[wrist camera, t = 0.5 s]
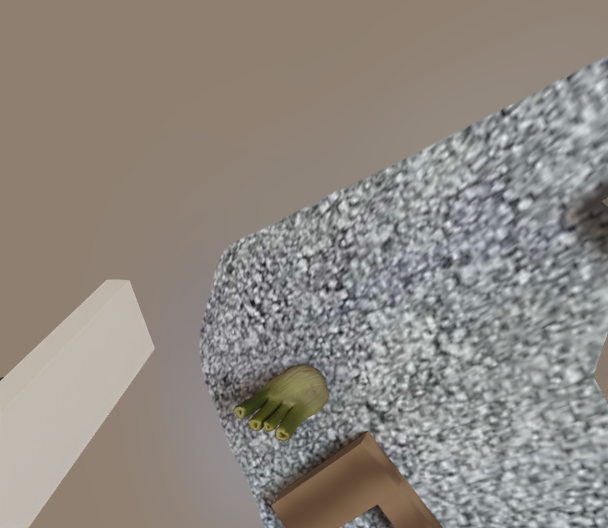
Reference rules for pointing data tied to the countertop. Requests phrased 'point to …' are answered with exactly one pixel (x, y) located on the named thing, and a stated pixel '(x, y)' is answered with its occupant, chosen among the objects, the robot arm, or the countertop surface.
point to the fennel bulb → (286, 401)
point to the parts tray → (605, 201)
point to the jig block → (352, 491)
